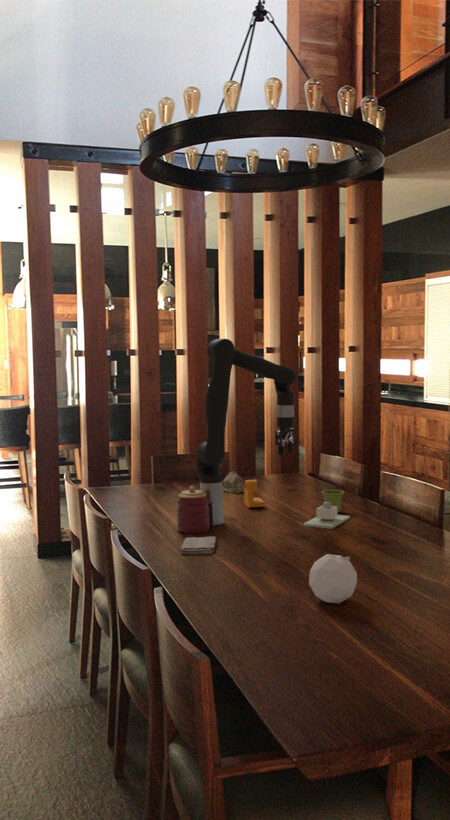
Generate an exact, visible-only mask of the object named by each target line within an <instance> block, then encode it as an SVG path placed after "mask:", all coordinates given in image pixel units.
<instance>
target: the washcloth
mask: <svg viewBox="0 0 450 820" xmlns="http://www.w3.org/2000/svg"><path fill="white" fill-rule="evenodd" d="M216 544H217V536H202V537H201V536H200V537H194V536H192V537H185V538H184V540H183V542H182V545H181V547H180V554H181V555H189V554H190V556H191V555H212V554H213V553H214V552H215V548H216Z"/></svg>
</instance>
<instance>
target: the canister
mask: <svg viewBox="0 0 450 820" xmlns="http://www.w3.org/2000/svg"><path fill="white" fill-rule="evenodd" d="M206 495H207V494H206V493H204V492H203V491H201V490H200V489H196V487H195V486H194V485H190V486H189V487H188V490H186V489H185V490H183V491H181V492H180V493H179V494H178V495H177V497H178V499H176V501H175V503H176V504H177V508H176V522H177V523H176V528H177V531H178V532H179V531H180V532H179V533H181V532H186V533H185V534H201V533H207V532H208V531H210V528H211V526H210V523H209V507H208V502H209V499H208V498H206Z"/></svg>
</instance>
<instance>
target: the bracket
mask: <svg viewBox="0 0 450 820" xmlns="http://www.w3.org/2000/svg"><path fill="white" fill-rule="evenodd" d="M255 492H258V480H257V479H246V480H245V479H244V492H243V503H244V506H245V505H246V506H247V507H248V508H249V509H251V507H253V508H264V507H265V500H263V499H262V498H260V497H254V493H255ZM246 506H245V507H246ZM247 507H246V508H247ZM248 508H247V509H248Z"/></svg>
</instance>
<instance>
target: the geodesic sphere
mask: <svg viewBox="0 0 450 820" xmlns="http://www.w3.org/2000/svg"><path fill="white" fill-rule="evenodd" d="M350 561H351V556H345V557H343V555H339V554H337V555H336V554H327V553H326V554H325V555H324V556H322V557H320V558H319V559H317V560H316V561H315V562H314V563H313V565H312V566H311V568H310V570H309V579H308V586H309V587H310V589H311V590H312V592H313V594H314V595H315V597H316V598H318V599H320V600H322V601H324V602H325V603H329V604H332V603H333V604H341V603H342V602H344V601H345V600H347V599H349V598H350V597H352V596H353V593H354V592H355V590H356V587H357V581H358V580H357V579H358V573H357V571H356V569H355V568H354V565H352V563H351V562H350Z"/></svg>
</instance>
